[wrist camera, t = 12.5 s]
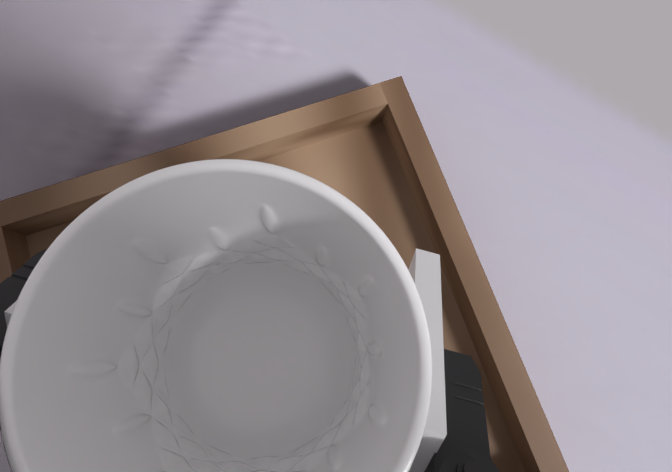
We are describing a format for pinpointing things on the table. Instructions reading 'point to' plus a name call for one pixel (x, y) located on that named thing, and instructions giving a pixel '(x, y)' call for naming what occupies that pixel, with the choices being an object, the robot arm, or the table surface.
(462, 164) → the table surface
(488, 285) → the walnut tray
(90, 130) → the table surface
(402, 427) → the white cup
